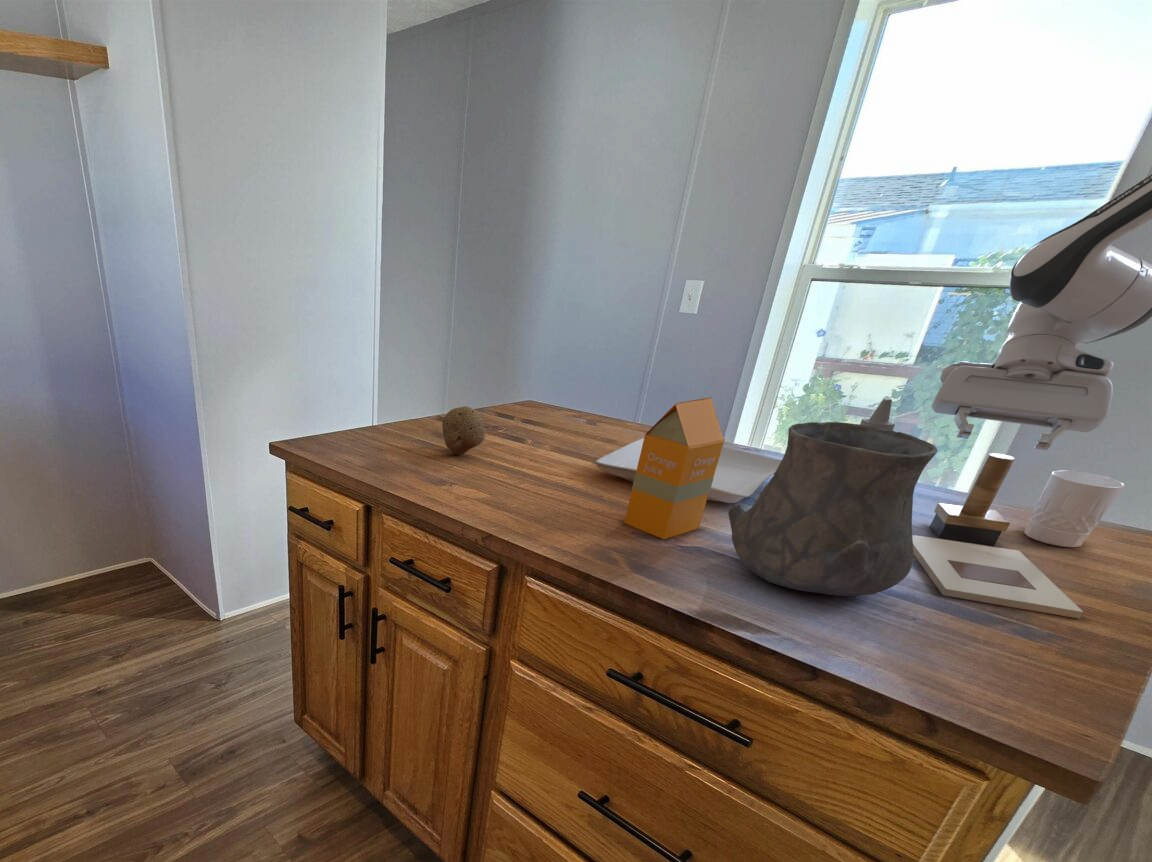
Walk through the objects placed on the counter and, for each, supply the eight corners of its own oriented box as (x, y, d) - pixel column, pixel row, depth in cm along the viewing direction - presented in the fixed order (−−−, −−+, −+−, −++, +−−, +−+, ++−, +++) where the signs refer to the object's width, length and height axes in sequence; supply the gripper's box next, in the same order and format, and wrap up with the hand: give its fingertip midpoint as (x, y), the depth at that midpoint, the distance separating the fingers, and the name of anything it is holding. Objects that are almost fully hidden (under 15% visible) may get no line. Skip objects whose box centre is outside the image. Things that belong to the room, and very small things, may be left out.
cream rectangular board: (1015, 556, 98) (1019, 550, 97) (1079, 618, 82) (1084, 611, 81) (902, 539, 103) (905, 533, 102) (942, 595, 87) (946, 588, 86)
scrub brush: (984, 533, 105) (1026, 454, 99) (997, 546, 101) (1042, 465, 94) (926, 525, 108) (964, 448, 101) (937, 538, 103) (977, 457, 97)
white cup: (1082, 553, 99) (1121, 491, 94) (1013, 536, 104) (1047, 476, 99) (1090, 540, 103) (1128, 480, 98) (1024, 525, 108) (1057, 466, 104)
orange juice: (699, 528, 105) (737, 402, 95) (664, 539, 101) (699, 408, 91) (657, 512, 111) (689, 392, 101) (622, 522, 107) (652, 397, 97)
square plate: (646, 449, 144) (651, 431, 142) (785, 479, 127) (792, 459, 125) (589, 477, 127) (593, 457, 125) (740, 515, 110) (748, 493, 108)
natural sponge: (483, 450, 142) (488, 403, 137) (482, 462, 134) (488, 413, 129) (441, 447, 143) (445, 400, 138) (438, 459, 135) (442, 410, 130)
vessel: (753, 531, 104) (797, 404, 95) (919, 585, 89) (992, 440, 79) (680, 566, 93) (721, 426, 83) (856, 635, 78) (932, 472, 68)
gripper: (953, 348, 107) (924, 418, 106) (1129, 363, 96) (1101, 442, 95) (941, 372, 113) (913, 440, 111) (1107, 389, 102) (1080, 465, 100)
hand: (1001, 441), depth 103 cm, fingers open, 8 cm apart
